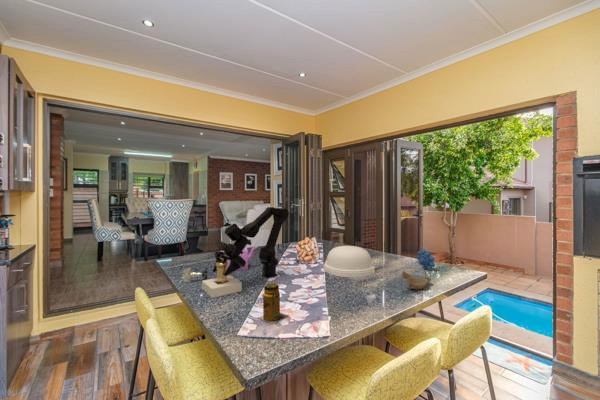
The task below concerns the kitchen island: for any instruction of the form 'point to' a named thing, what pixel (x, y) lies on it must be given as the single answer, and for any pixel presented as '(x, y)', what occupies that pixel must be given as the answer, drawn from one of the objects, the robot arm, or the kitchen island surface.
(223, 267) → the brass bushing
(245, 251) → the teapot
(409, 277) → the oil lamp
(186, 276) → the valve
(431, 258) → the grapes
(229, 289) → the jig plate
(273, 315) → the condiment
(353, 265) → the dome cover
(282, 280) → the kitchen island surface
